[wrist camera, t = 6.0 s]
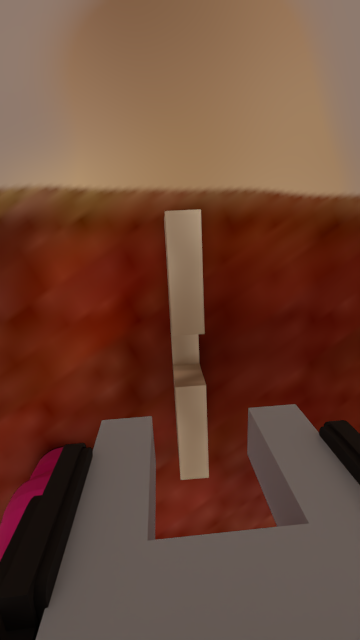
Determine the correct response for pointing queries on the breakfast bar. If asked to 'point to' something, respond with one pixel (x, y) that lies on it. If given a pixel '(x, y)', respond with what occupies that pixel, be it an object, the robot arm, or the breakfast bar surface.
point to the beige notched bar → (187, 338)
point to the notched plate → (212, 547)
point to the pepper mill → (26, 496)
